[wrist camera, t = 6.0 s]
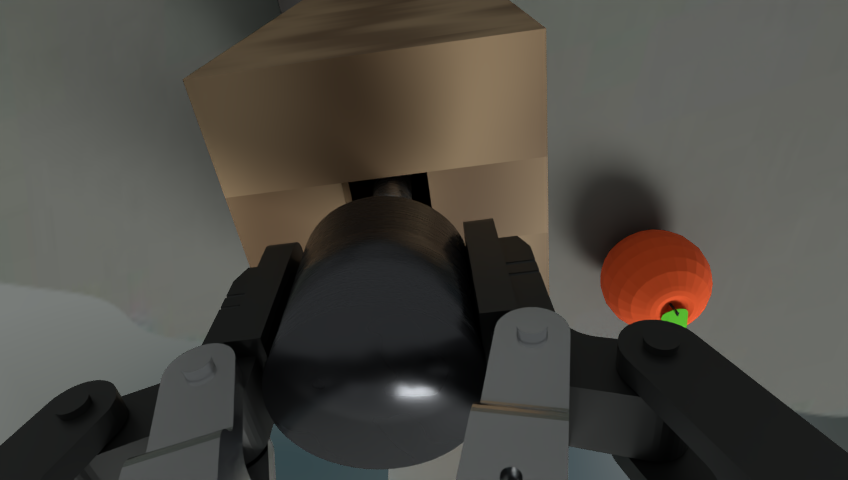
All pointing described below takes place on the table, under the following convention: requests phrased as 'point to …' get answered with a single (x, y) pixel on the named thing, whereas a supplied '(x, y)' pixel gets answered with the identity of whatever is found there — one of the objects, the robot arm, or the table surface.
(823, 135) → the table surface
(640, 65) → the table surface
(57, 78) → the table surface
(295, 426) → the plunger
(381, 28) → the box
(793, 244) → the table surface
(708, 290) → the clementine
